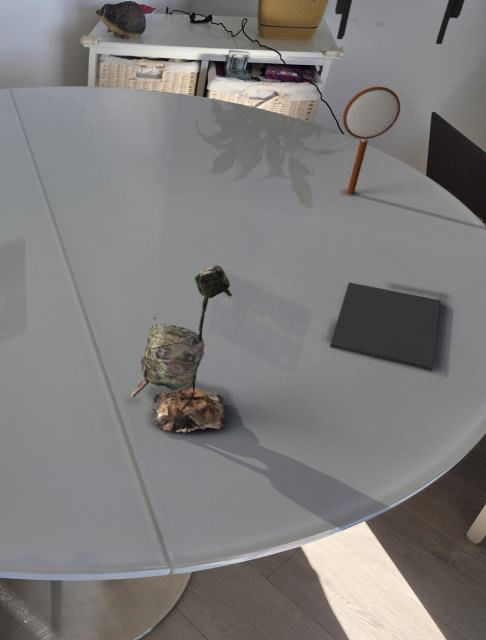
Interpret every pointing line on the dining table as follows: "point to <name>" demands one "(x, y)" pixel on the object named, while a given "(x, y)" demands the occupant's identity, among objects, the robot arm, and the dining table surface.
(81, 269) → the dining table surface
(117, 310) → the dining table surface
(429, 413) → the dining table surface
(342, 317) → the mat
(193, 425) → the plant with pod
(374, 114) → the magnifying glass
